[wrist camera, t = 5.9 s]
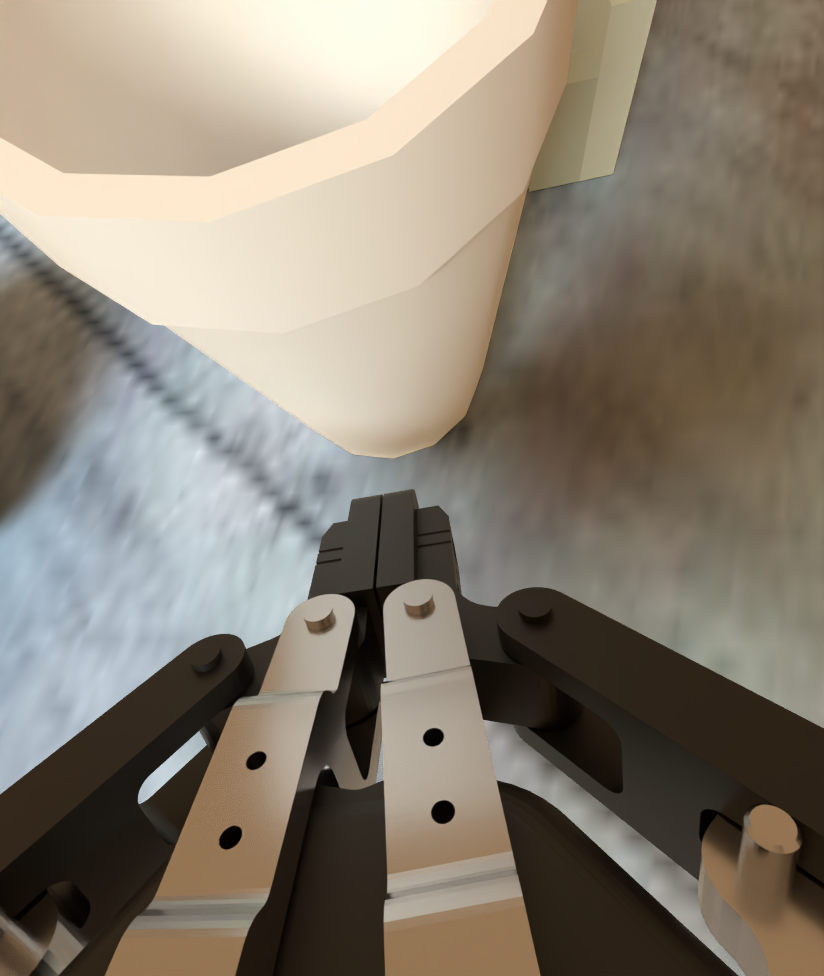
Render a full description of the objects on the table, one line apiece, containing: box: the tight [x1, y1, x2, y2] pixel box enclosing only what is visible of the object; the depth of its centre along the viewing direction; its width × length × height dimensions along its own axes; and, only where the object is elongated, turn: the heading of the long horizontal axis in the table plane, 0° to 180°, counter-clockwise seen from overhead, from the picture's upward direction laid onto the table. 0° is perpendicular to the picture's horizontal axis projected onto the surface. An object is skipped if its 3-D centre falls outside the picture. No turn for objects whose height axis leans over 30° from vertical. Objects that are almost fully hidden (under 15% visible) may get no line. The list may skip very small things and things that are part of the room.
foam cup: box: [0, 0, 578, 459], centre depth 14 cm, size 10×9×13 cm
